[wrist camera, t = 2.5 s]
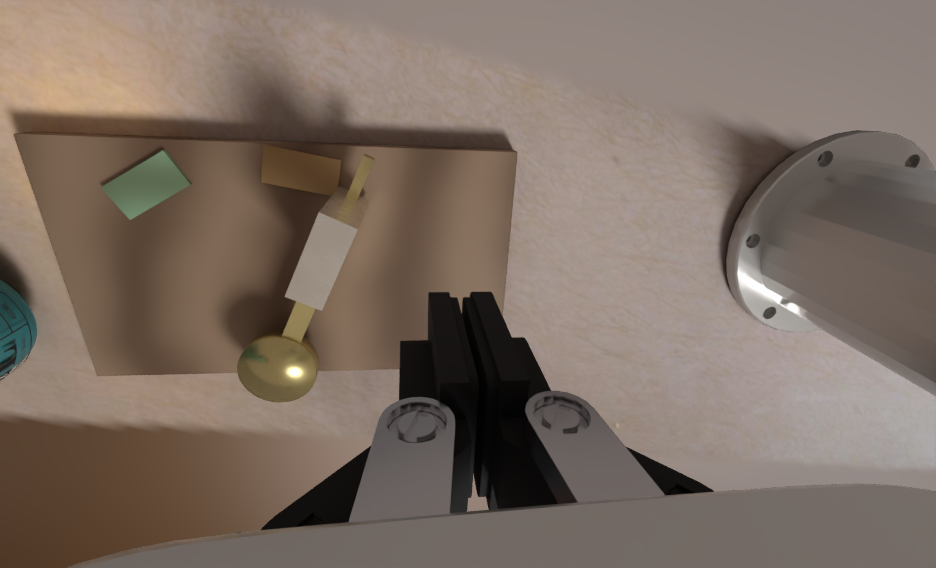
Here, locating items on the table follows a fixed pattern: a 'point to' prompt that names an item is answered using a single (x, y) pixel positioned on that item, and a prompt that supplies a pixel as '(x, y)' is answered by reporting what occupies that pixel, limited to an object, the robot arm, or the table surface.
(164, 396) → the table surface
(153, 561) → the robot arm
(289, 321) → the gold and silver piece
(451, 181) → the cutting board
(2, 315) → the beverage bottle
